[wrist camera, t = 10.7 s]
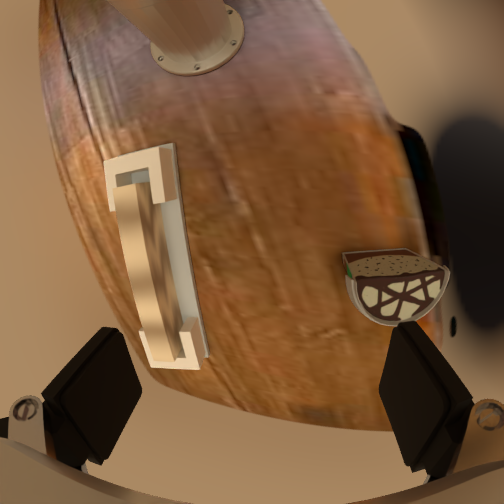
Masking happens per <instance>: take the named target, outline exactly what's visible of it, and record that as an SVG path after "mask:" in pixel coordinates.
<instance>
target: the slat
mask: <svg viewBox="0 0 504 504" xmlns="http://www.w3.org/2000/svg"><path fill="white" fill-rule="evenodd" d="M112 189H113V196H114V203H115V210H116V216H117V222H118V227H119V233H120V238H121V243H122V248H123V253H124V258H125V262H126V267H127V271H128V275H129V279H130V283H131V287H132V291H133V295H134V299H135V302H136V306H137V310H138V313H139V316H140V320H141V323H142V327H143V330H144V333H145V336H146V339H147V342H148V345H149V348H150V351H151V354H152V357H153V360H154V361H162V362H175V360H176V358H177V356H178V354H179V352H180V350H181V348H182V346H183V345H182V341H181V337H180V334H179V331H180V329H181V328H182V326H183V320H182V315H181V311H180V307H179V302H178V298H177V293H176V289H175V284H174V279H173V274H172V269H171V264H170V259H169V254H168V248H167V242H166V237H165V231H164V225H163V218H162V212H161V205H160V203H157V204H153V200H152V192H151V185H150V182H144V183H135V184H130V185H126V186H121V187H117V188H112Z"/></svg>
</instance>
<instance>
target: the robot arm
mask: <svg viewBox="0 0 504 504" xmlns="http://www.w3.org/2000/svg"><path fill="white" fill-rule="evenodd" d="M106 1H108V2H109V3H110V4H111V5H112V6H113V7H114V8H116V9H117V10H118V11H119V12H120V13H121V14H122V15H123V16H125V17H126V18H127V19H128V20H129V21H130V22H131V23H132V24H133V25H135V26H136V27H137V28H138V29H139V30H140V31H141V32H142V33H143V34H144V35H145V36H146V37H147V38H149V39H150V40H151V44H150V48H151V54H152V56H153V59H154V60H155V61H156V63H157V64H158V65H159V66H160V67H161V68H163V69H164V70H166V71H168V72H170V73H173V74H176V75H182V76H193V75H199V74H204V73H207V72H210V71H212V70H214V69H216V68H219V67H220V66H222V65H223V64H225V63H226V62H228V61H229V60H230V59H231V58H232V57H233V56H234V55H235V54H236V52H237V51H238V50H239V48H240V46H241V44H242V42H243V38H244V25H243V21H242V19H241V16H240V15H239V14H238V12H237V11H236V10H235V9H233V8H232V7H231V6H229V5H227V4H224V2H223V0H106ZM234 44H236V45H234ZM233 45H234V46H233ZM198 68H200V69H199V70H197V69H198ZM41 394H42V396H43V398H44V399H45V401H44V402H43V403H42V402H41V400H40V399H39V398H38V397H36V396H31V395H30V396H24V397H21V398H20V399H18V400H16V401H15V402H14V404H13V405H12V406H11V408H10V412H9V417H6V418H2V419H0V504H191V503H185V502H180V501H174V500H170V499H165V498H161V497H157V496H153V495H149V494H145V493H141V492H138V491H134V490H131V489H128V488H124V487H121V486H118V485H115V484H113V483H109V482H107V481H104V480H101V479H98V478H96V477H94V476H91V475H89V474H88V471H87V468H86V464H85V461H86V460H87V459H88V460H89V461H90V462H93V463H95V464H98V465H102V464H103V461H104V460H106V459H108V458H109V456H110V454H111V452H112V450H113V448H114V446H115V444H116V442H117V441H118V438H119V436H120V435H121V433H122V431H123V429H124V427H125V425H126V423H127V421H128V419H129V417H130V415H131V414H132V412H133V410H134V408H135V406H136V404H137V402H138V400H139V399H140V397H141V394H142V387H141V384H140V382H139V379H138V376H137V374H136V371H135V369H134V365H133V363H132V360H131V357H130V354H129V352H128V348H127V345H126V342H125V339H124V336H123V334H122V333H121V332H119V330H118V329H117V328H110V327H102V328H101V329H100V330H99V331H98V332H97V333H96V334H95V335H94V336H93V337H92V338H91V339H90V340H89V341H88V342H87V343H86V344H85V346H83V347H82V349H81V350H80V351H79V352H78V353H77V354H76V355H75V356H74V357H73V358H72V359H71V360H70V361H69V363H68V364H67V365H66V366H65V367H64V368H63V369H62V370H61V371H60V373H59V374H58V375H57V376H56V377H55V378H54V379H53V380H52V381H51V383H50V384H49V385H48V386H47V387H46V388H45V389H44V391H43V392H42V393H41ZM379 394H380V397H381V400H382V402H383V405H384V407H385V410H386V413H387V415H388V418H389V421H390V423H391V426H392V429H393V431H394V434H395V437H396V440H397V443H398V445H399V448H400V451H401V454H402V457H403V460H404V463H405V465H406V466H410V468H411V470H412V473H413V472H416V471H419V470H422V469H425V470H426V472H427V477H426V479H425V481H424V483H423V485H420V486H417V487H414V488H411V489H408V490H404V491H401V492H397V493H394V494H390V495H385V496H382V497H377V498H373V499H369V500H364V501H359V502H353V503H348V504H504V404H502V403H501V402H499V401H497V400H494V399H483V400H480V401H478V402H477V403H476V404H474V403H473V401H472V398H473V397H472V395H471V394H470V392H469V391H468V389H467V388H466V387H465V385H464V384H463V383H462V381H461V380H460V378H459V377H458V375H457V374H456V373H455V371H454V370H453V369H452V367H451V366H450V365H449V363H448V362H447V360H446V359H445V358H444V356H443V355H442V354H441V353H440V351H439V350H438V349H437V347H436V346H435V345H434V343H433V342H432V341H431V340H430V338H429V337H428V336H427V335H426V333H425V332H424V331H423V330H422V328H421V327H420V326H419V325H418V324H417V322H416V321H407V322H400V323H398V325H397V327H395V328H393V331H392V335H391V340H390V344H389V349H388V353H387V357H386V362H385V366H384V369H383V373H382V377H381V381H380V384H379Z"/></svg>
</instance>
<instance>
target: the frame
mask: <svg viewBox="0 0 504 504" xmlns="http://www.w3.org/2000/svg"><path fill="white" fill-rule="evenodd" d="M104 171H105V180H106V188H107V195H108V202H109V208H110V212H111V211H116V210H115V203H114V196H113V189H112V188H117V187H121V186H126V185H130V184H135V183H144V182H150V185H151V192H152V200H153V204H157V203H160V205H161V212H162V218H163V225H164V231H165V237H166V242H167V248H168V254H169V259H170V264H171V269H172V274H173V279H174V284H175V289H176V293H177V298H178V302H179V307H180V311H181V315H182V320H183V326H182V328H181V329H180V331H179V334H180V337H181V341H182V345H183V346H182V348H181V350H180V352H179V354H178V356H177V358H176V360H175V362H162V361H154V360H153V357H152V354H151V351H150V348H149V345H148V342H147V339H146V336H145V333H144V330H143V327H141V329H140V330H139V334H140V337H141V340H142V343H143V346H144V349H145V352H146V355H147V358H148V360H149V363H150V366H151V367H155V368H170V369H194V370H200V368H201V365H202V363H203V360H204V357H209V355H210V351H209V347H208V343H207V338H206V334H205V329H204V324H203V319H202V315H201V310H200V305H199V300H198V295H197V289H196V284H195V279H194V273H193V268H192V262H191V256H190V250H189V244H188V238H187V231H186V225H185V218H184V211H183V204H182V197H181V189H180V181H179V173H178V164H177V155H176V146H175V143H169V144H165V145H160V146H156V147H151V148H147V149H143V150H139V151H135V152H131V153H127V154H124V155H120V156H118V157H116V158H112V159H109V160H105V161H104Z"/></svg>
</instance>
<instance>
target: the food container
mask: <svg viewBox="0 0 504 504" xmlns="http://www.w3.org/2000/svg"><path fill="white" fill-rule="evenodd" d="M342 261H343V264H344V266H345V269H346V272H347V274H348V276H347V275H345V278H346V286H347V291H348V294H349V296H350V299H351V301H352V302H353V304H354V306H355V307H356V308H357V309H358V310H359V311H360V312H361V313H362V314H364V315H365V316H366V317H368V318H369V319H370V320H372V321H374V322H376V323H379V324H382V325H387V326H397V325H398V323H400V322H407V321H416V320H418V319H420V318H421V317H423V316H424V315H425V314H427V313H428V312H429V311H430V310H431V309H432V308H433V307H434V306H435V305H436V303H437V302H438V301H439V299H440V298H441V296H442V294H443V293H444V290H445V288H446V286H447V283H448V280H449V275H450V271H449V269H448V268H447V267H446V266H445V265H443V267H441V266H440V265H438V264H436V263H434V262H432V261H430V260H428V259H427V258H425V257H423V256H421V255H419V254H417V253H415V252H413V251H411V250H409V249H407V248H396V249H383V250H369V251H355V252H342Z"/></svg>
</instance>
